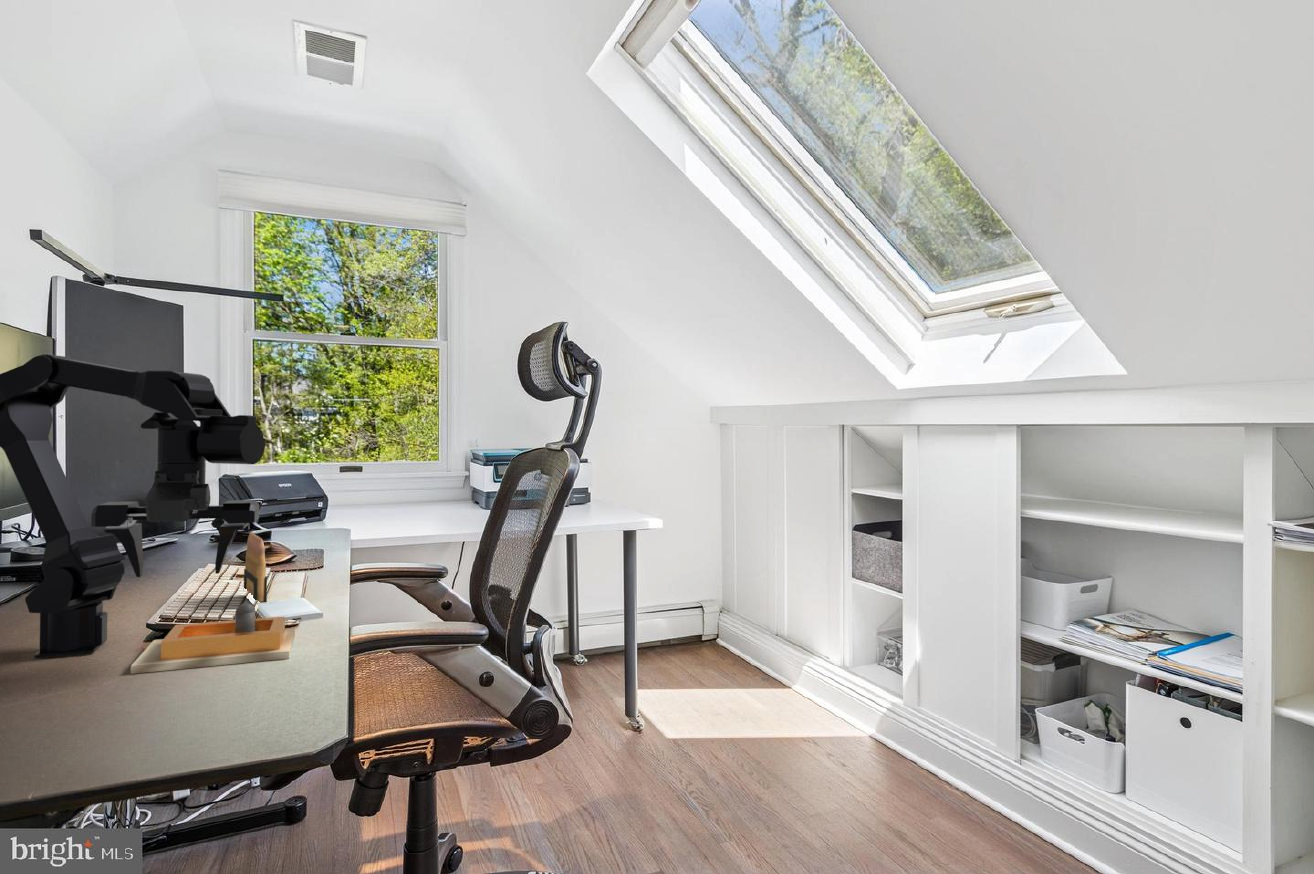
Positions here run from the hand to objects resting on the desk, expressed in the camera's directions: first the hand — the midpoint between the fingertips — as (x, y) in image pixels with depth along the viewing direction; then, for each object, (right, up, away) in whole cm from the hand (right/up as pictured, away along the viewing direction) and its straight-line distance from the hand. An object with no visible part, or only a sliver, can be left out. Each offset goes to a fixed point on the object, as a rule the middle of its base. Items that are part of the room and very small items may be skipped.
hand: (179, 574), depth 99 cm
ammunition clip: (-7, -11, +31) cm, 33 cm away
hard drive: (+3, -12, +22) cm, 26 cm away
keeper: (+5, -11, +1) cm, 12 cm away
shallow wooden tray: (+6, -10, +1) cm, 12 cm away
